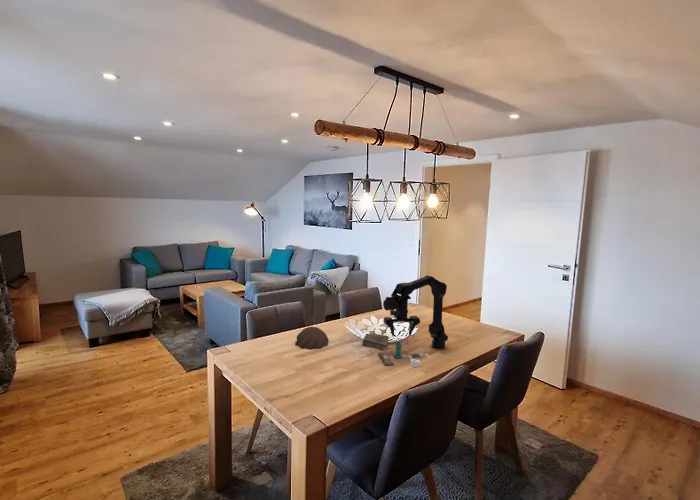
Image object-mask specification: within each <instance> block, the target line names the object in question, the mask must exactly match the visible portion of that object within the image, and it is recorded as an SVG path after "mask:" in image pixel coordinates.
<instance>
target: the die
mask: <svg viewBox="0 0 700 500" xmlns="http://www.w3.org/2000/svg"><path fill="white" fill-rule="evenodd" d="M409 359H410V360H409V365H410V366H411V367H412V368H420V367H421V360H419V358H409Z"/></svg>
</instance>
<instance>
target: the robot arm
mask: <svg viewBox="0 0 700 500" xmlns="http://www.w3.org/2000/svg"><path fill="white" fill-rule="evenodd" d="M426 286H429V287H430V291H431V294H432V296H433V309H432V312H433V313H432V322H431V323H429V324H428V332H429V333H428V334H430V338H432V341H431V347H432V348H433V349H437V350H442V349H445V348H446V342H448V339H449V336H448V335H447V334H446V332H445V326H444V324H443V306H444V305H443V302H444V296H445V295H446V293H447V289H448V288H447V284H446V283H445V282H442V281H440V280H439V279H436V278H435V277H434V276H431V275H425V276H423V277H420V278H418V279H416V280H412V281H409V282H401V283H397V284H396V285H395V288H394V289H393V291H392V293H391V295H390V296H386V297H385V299H383V302H382V305H383V308H384V310H385V311H389V314H390V316H387V317H386V316H385V317H384V318H383V324H384V325H386V326H387V327H389V330H390V333H391V336H392V337H393V338H394V335H395V325H394V324H396V323H408V325H409V326H408V327H409V328H408V336H409V337H410V336H411V335H412V333H413V332H414V329H415V327H417V326H418V325H420V324H421V319H420V318H419V316H417V315H410V316H409V317H408V313H409V310H408V308H409V307H408V303H409V300H411V299H412V297H411V296H410V295H412V294H413V292H414V291H416V290H419V289H421V288H423V287H426ZM391 316H393V317H394V318H392V317H391Z"/></svg>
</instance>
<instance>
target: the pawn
mask: <svg viewBox="0 0 700 500" xmlns="http://www.w3.org/2000/svg"><path fill="white" fill-rule="evenodd" d="M402 345H403V344H402V342H401V341H396V342H395V353H394V355H395V358H401V357H403V356H402V355H403V354H402V351H401V350H402V349H401V348H402ZM395 358H394V359H395Z"/></svg>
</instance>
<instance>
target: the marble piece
mask: <svg viewBox="0 0 700 500" xmlns="http://www.w3.org/2000/svg"><path fill="white" fill-rule="evenodd" d="M388 339H390V337H389V336H388V335H385V334H378V333H365V335H364V337H363V339H362V343H361V344H362V346H363V347H366V348H370V349H375V350H379V351H385V349H387V347H388V344H389V340H388Z"/></svg>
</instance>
